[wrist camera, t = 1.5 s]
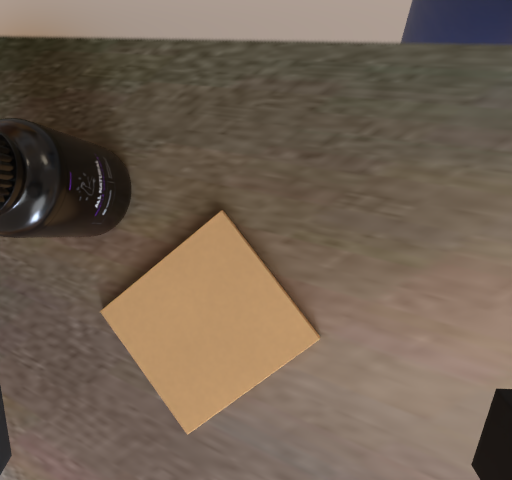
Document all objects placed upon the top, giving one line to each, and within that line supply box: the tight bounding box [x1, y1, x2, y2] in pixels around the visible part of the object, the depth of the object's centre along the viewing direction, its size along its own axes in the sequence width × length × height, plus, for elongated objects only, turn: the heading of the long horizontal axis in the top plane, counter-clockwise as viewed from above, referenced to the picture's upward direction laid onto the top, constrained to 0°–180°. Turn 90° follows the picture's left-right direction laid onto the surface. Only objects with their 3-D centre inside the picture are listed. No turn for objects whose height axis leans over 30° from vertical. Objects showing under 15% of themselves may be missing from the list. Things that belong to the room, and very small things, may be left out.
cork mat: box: [100, 210, 320, 434], centre depth 31 cm, size 12×11×1 cm
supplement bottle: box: [0, 118, 131, 238], centre depth 27 cm, size 7×7×12 cm
